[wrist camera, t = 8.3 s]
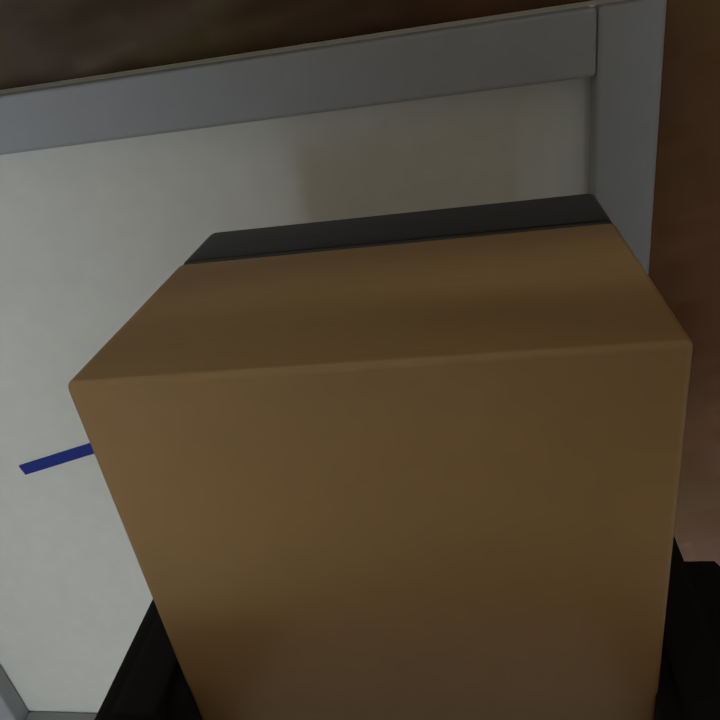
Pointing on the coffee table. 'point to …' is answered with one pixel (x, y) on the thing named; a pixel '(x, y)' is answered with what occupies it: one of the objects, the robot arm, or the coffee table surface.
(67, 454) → the whiteboard
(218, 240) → the eraser
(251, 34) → the coffee table surface
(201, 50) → the coffee table surface
